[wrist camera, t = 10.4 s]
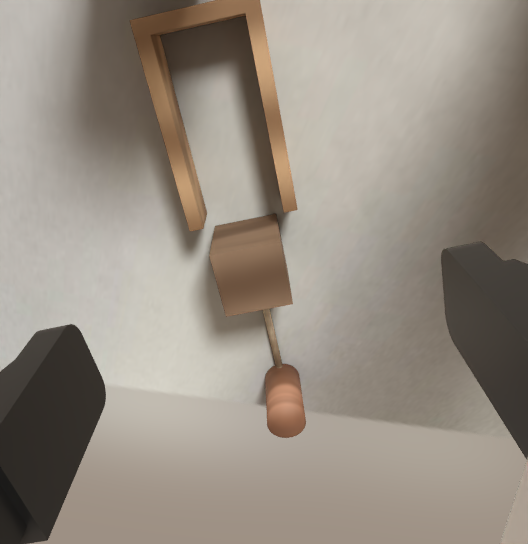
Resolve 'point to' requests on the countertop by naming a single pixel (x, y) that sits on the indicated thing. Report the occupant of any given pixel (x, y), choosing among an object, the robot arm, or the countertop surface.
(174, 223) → the countertop surface
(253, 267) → the tethered walnut block
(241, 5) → the frame
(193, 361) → the countertop surface
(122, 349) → the countertop surface
